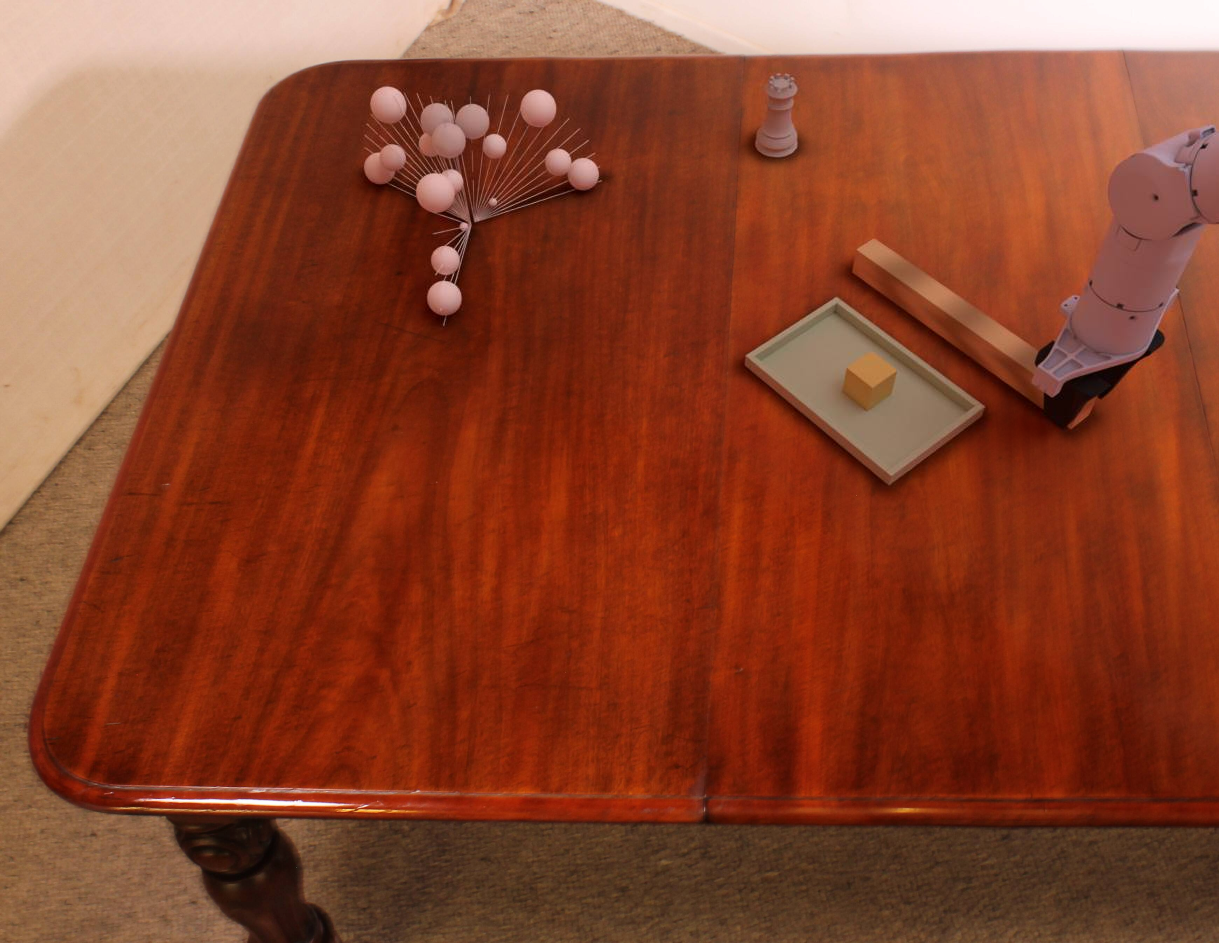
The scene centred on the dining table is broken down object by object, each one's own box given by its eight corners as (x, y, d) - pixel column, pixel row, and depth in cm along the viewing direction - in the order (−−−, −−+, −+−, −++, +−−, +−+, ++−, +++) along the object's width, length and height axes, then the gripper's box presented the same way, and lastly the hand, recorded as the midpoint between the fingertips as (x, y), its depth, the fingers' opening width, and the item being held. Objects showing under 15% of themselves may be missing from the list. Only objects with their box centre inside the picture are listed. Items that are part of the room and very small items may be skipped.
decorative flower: (314, 320, 102) (269, 201, 90) (370, 170, 115) (337, 50, 104) (575, 331, 99) (562, 210, 88) (602, 177, 112) (594, 54, 101)
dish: (981, 418, 91) (985, 406, 89) (888, 487, 87) (891, 476, 86) (834, 308, 99) (836, 296, 98) (744, 367, 95) (745, 355, 94)
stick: (1087, 417, 90) (1099, 392, 88) (1069, 431, 89) (1081, 407, 87) (869, 263, 103) (874, 237, 100) (851, 274, 102) (855, 249, 99)
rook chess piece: (752, 135, 115) (757, 68, 109) (794, 133, 115) (801, 66, 109) (756, 161, 113) (761, 94, 106) (799, 159, 112) (806, 92, 106)
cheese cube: (892, 393, 92) (897, 370, 90) (867, 411, 91) (872, 388, 89) (866, 374, 94) (871, 350, 91) (841, 390, 93) (846, 367, 90)
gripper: (1144, 213, 83) (1089, 337, 93) (1019, 301, 78) (977, 420, 89) (1226, 261, 79) (1160, 383, 90) (1101, 355, 74) (1047, 473, 85)
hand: (1074, 405), depth 89 cm, fingers open, 4 cm apart
